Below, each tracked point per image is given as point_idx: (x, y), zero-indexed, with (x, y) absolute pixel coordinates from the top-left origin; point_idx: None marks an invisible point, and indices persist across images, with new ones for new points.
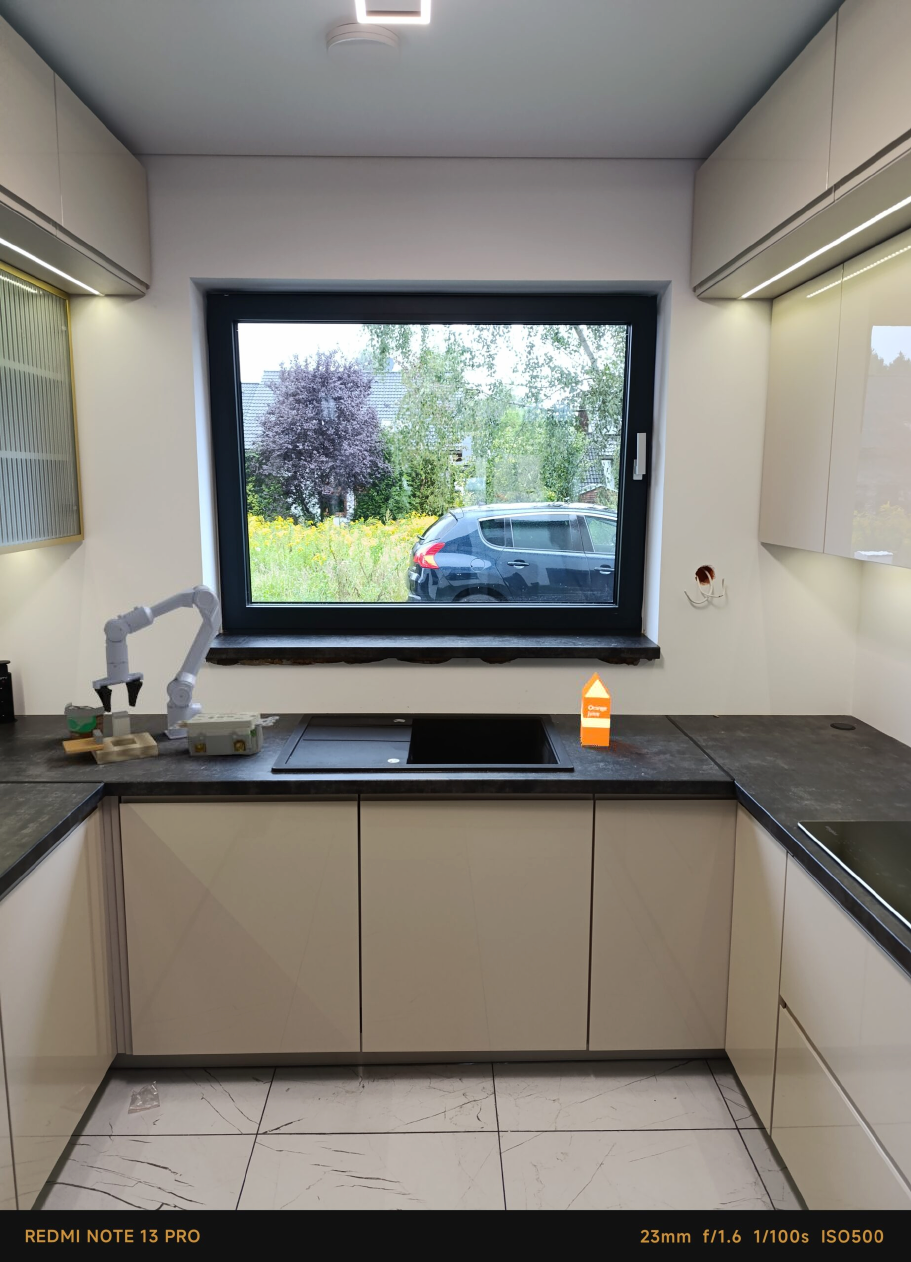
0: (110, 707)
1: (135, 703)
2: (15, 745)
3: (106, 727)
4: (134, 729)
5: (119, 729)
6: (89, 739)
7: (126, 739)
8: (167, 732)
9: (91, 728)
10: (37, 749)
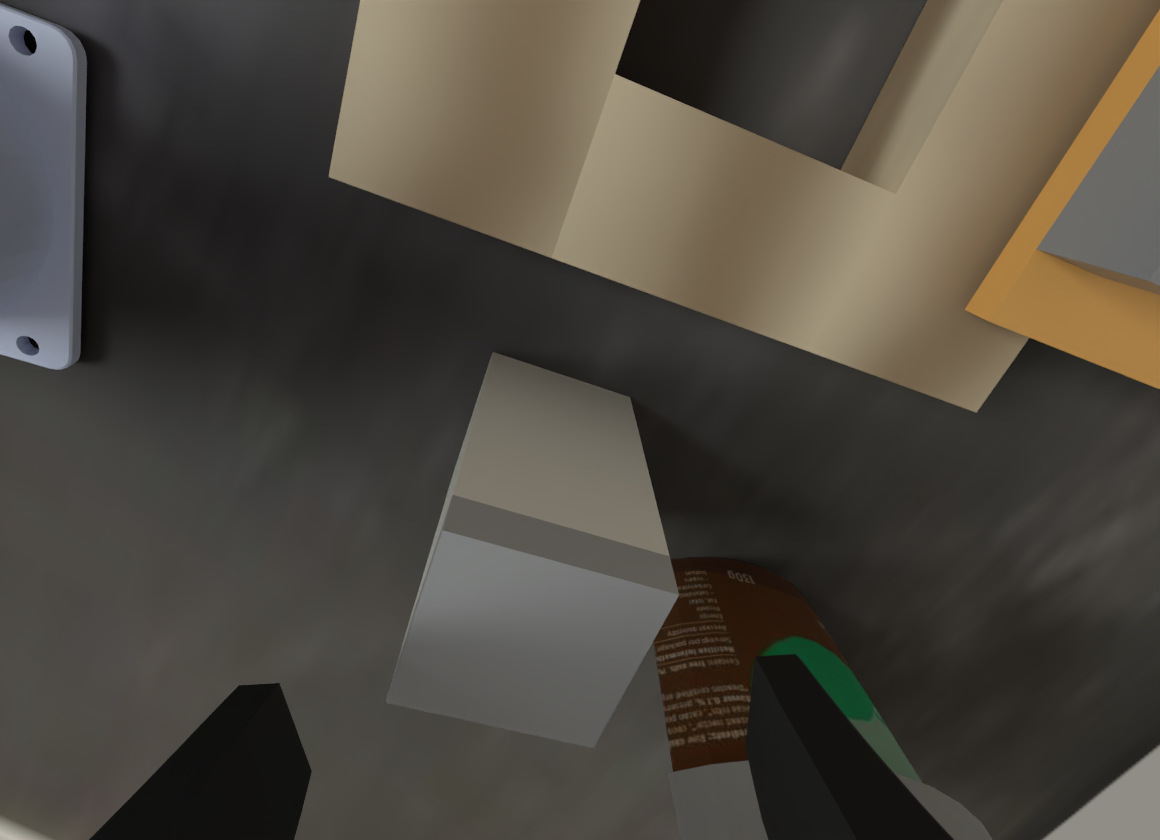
0: (807, 725)
1: (202, 729)
2: (1060, 801)
3: (455, 780)
4: (304, 629)
5: (599, 452)
6: (1134, 302)
7: (699, 110)
8: (51, 283)
9: (787, 653)
10: (1075, 665)
